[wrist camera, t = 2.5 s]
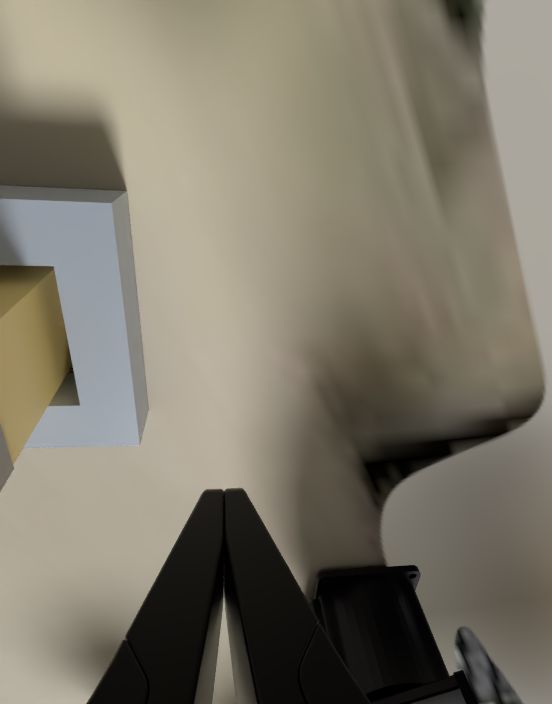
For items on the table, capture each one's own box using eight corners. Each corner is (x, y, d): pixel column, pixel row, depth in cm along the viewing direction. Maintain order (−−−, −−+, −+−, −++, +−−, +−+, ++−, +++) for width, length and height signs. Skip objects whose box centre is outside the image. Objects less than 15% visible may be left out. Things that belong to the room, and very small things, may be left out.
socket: (126, 191, 15) (111, 203, 13) (148, 409, 20) (139, 445, 18) (-176, 177, 14) (-245, 188, 12) (-80, 413, 18) (-118, 452, 16)
